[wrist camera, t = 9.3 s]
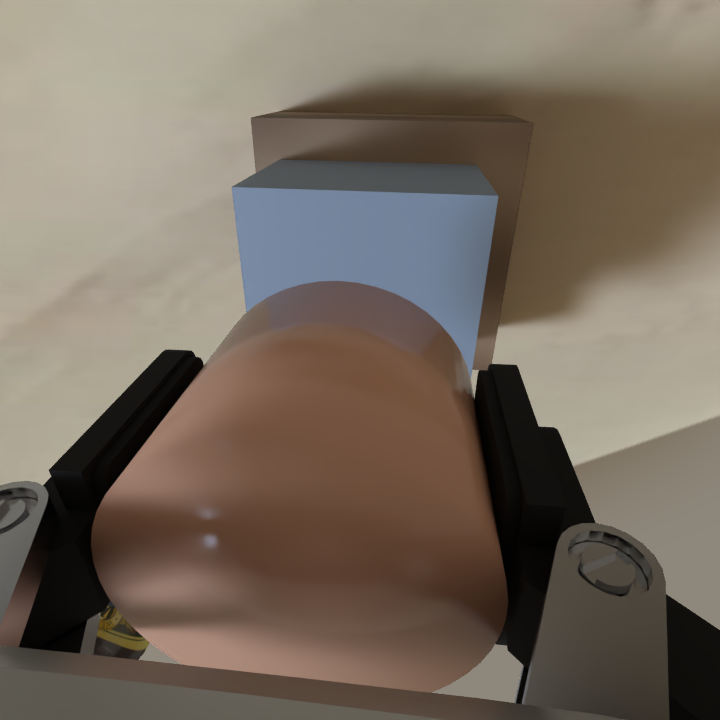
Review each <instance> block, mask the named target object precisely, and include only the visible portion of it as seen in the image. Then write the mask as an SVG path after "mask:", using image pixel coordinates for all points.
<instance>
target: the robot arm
mask: <svg viewBox="0 0 720 720" xmlns="http://www.w3.org/2000/svg"><path fill="white" fill-rule="evenodd" d="M203 367H204V365H203V362H202V360H201V358H199V357H195V354H194V353H193V352H192V351H187V350H165V351H163V352H162V353H161V354H160V355H159V356H158V357H157V358H156V359H155V360H154V361H153V362H152V363H151V364H150V365H149V367H148V368H147V369H146V370H145V371H144V372H143V373H142V374H141V375H140V376H139V377H138V378H137V379H136V380H135V381H134V382H133V383H132V384H131V385H130V386H129V387H128V388H127V389H126V390H125V391H124V393H123V394H122V395H121V396H120V397H119V398H118V399H117V400H116V401H115V402H114V403H113V404H112V405H111V406H110V407H109V408H108V409H107V410H106V411H105V412H104V413H103V414H102V415H101V416H100V417H99V419H98V420H97V421H96V422H95V423H94V424H93V425H92V426H91V427H90V428H89V429H88V430H87V431H86V432H85V433H84V434H83V435H82V436H81V437H80V438H79V439H78V440H77V441H76V442H75V443H74V445H73V446H72V447H71V448H70V449H69V450H68V451H67V452H66V453H65V454H64V455H63V456H62V457H61V458H60V459H59V460H58V461H57V462H56V463H55V464H54V465H53V466H52V467H51V468H50V469H49V472H50V474H51V476H52V477H51V478H50V479H49V480H48V481H47V482H46V483H45V484H44V485H43V486H42V485H41V484H39V483H36V482H30V481H21V482H12V483H8V484H4V485H1V486H0V720H720V630H719V629H717V628H716V627H714V626H713V625H711V624H710V623H708V622H707V621H705V620H704V619H702V618H701V617H699V616H698V615H696V614H695V613H693V612H692V611H690V610H689V609H687V608H686V607H684V606H683V605H681V604H680V603H678V602H677V601H675V600H674V599H672V598H671V597H669V596H668V595H667V594H666V581H665V577H664V573H663V569H662V567H661V565H660V564H659V562H658V560H657V559H656V557H655V556H654V554H653V553H651V551H650V550H649V549H647V547H646V546H645V545H644V544H643V543H641V542H640V541H638V540H637V539H635V538H634V537H632V536H631V535H629V534H628V533H625V532H623V531H621V530H619V529H616V528H614V527H611V526H607V525H602V524H598V523H595V520H594V518H593V515H592V513H591V511H590V508H589V505H588V503H587V500H586V498H585V495H584V493H583V491H582V488H581V486H580V483H579V481H578V478H577V476H576V473H575V471H574V468H573V466H572V463H571V461H570V458H569V456H568V453H567V451H566V448H565V446H564V443H563V441H562V438H561V436H560V434H559V432H558V430H557V429H556V428H553V427H538V424H537V421H536V418H535V415H534V412H533V409H532V407H531V404H530V401H529V398H528V395H527V392H526V389H525V386H524V384H523V381H522V378H521V375H520V372H519V369H518V367H517V365H503V364H489V366H488V370H479V372H478V378H477V385H476V393H475V406H476V412H477V417H478V423H479V429H480V434H481V440H482V446H483V452H484V457H485V463H486V469H487V474H488V480H489V486H490V491H491V497H492V503H493V509H494V514H495V520H496V526H497V531H498V537H499V543H500V548H501V554H502V560H503V566H504V571H505V577H506V583H507V594H508V607H507V615H506V620H505V623H504V626H503V629H502V632H501V634H500V636H499V638H498V640H497V641H496V644H498V645H507V648H508V651H509V652H510V653H511V654H512V655H513V656H514V657H516V658H517V659H518V660H519V661H520V662H521V663H522V664H523V667H522V671H521V676H520V680H519V685H518V689H517V694H516V698H515V703H509V702H502V701H494V700H487V699H479V698H471V697H463V696H454V695H445V694H436V693H428V692H419V691H411V690H402V689H393V688H385V687H376V686H367V685H359V684H350V683H342V682H333V681H324V680H316V679H307V678H298V677H289V676H280V675H271V674H262V673H253V672H244V671H235V670H226V669H217V668H208V667H199V666H189V665H180V664H171V663H162V662H153V661H143V660H134V659H125V658H116V657H107V656H97V655H93V652H94V647H95V642H96V637H97V632H98V627H99V622H100V612H102V611H104V610H105V609H106V607H107V606H114V605H113V603H112V602H111V600H110V599H109V597H108V596H107V594H106V592H105V590H104V588H103V586H102V584H101V583H100V581H99V578H98V575H97V572H96V569H95V566H94V563H93V557H92V550H91V534H92V526H93V522H94V519H95V515H96V511H97V509H98V507H99V506H100V504H101V502H102V500H103V498H104V496H105V494H106V493H107V492H108V490H109V489H110V488H111V487H112V485H113V484H114V483H115V481H116V480H117V479H118V477H119V476H120V475H121V474H122V472H123V471H124V470H125V468H126V467H127V466H128V464H129V463H130V462H131V460H132V459H133V458H134V457H135V455H136V454H137V453H138V451H139V450H140V449H141V447H142V446H143V445H144V444H145V442H146V441H147V440H148V438H149V437H150V436H151V434H152V433H153V432H154V430H155V429H156V428H157V427H158V425H159V424H160V423H161V421H162V420H163V419H164V417H165V416H166V415H167V413H168V412H169V411H170V410H171V408H172V407H173V406H174V404H175V403H176V402H177V400H178V399H179V398H180V397H181V395H182V394H183V393H184V391H185V390H186V389H187V387H188V386H189V385H190V383H191V382H192V381H193V380H194V378H195V377H196V376H197V374H198V373H199V372H200V370H201V369H202V368H203Z"/></svg>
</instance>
